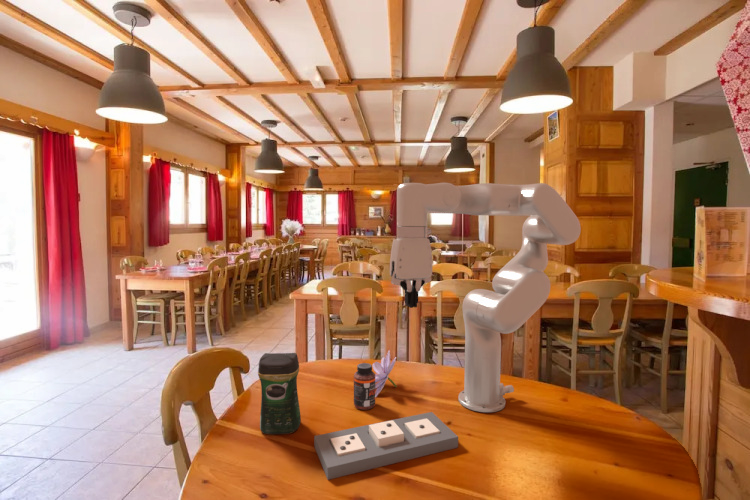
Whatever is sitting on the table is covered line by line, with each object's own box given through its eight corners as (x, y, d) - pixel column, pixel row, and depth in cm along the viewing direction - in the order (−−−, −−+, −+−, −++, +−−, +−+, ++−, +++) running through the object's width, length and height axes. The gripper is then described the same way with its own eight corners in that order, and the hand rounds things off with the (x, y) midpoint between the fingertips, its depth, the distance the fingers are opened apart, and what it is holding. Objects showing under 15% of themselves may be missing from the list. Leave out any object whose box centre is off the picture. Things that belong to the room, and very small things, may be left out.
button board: (431, 421, 99) (431, 411, 99) (458, 447, 88) (458, 436, 88) (314, 446, 89) (314, 435, 89) (327, 479, 78) (327, 467, 77)
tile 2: (392, 429, 92) (392, 419, 92) (403, 443, 87) (403, 432, 86) (368, 435, 90) (368, 424, 90) (378, 449, 85) (378, 438, 84)
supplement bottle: (373, 411, 104) (372, 370, 103) (351, 409, 106) (351, 368, 105) (377, 401, 110) (377, 362, 109) (356, 399, 111) (356, 360, 110)
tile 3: (356, 443, 89) (356, 432, 89) (365, 458, 84) (365, 446, 83) (330, 448, 87) (330, 437, 87) (338, 464, 81) (338, 453, 81)
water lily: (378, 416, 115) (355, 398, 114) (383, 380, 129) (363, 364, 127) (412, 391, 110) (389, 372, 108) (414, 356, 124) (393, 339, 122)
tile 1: (426, 427, 96) (426, 417, 95) (439, 441, 90) (439, 430, 90) (404, 432, 93) (404, 422, 93) (416, 446, 88) (416, 435, 88)
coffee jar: (303, 418, 101) (301, 348, 99) (297, 436, 93) (295, 359, 91) (265, 419, 101) (263, 348, 99) (256, 436, 93) (254, 360, 91)
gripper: (430, 232, 104) (430, 301, 105) (378, 233, 98) (378, 305, 100) (446, 233, 97) (445, 307, 98) (390, 235, 91) (390, 312, 93)
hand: (411, 306), depth 99 cm, fingers closed
